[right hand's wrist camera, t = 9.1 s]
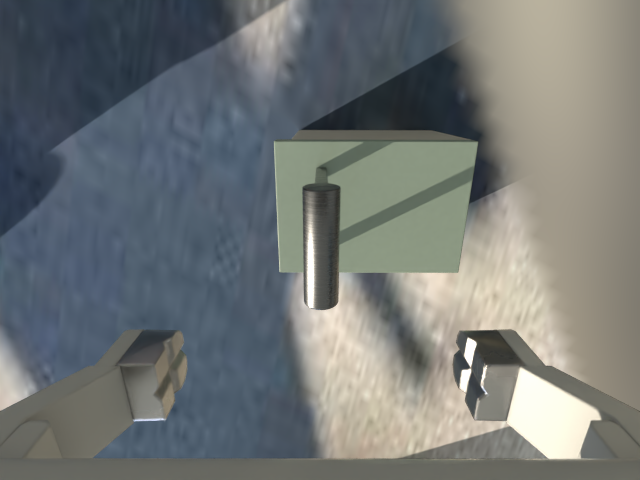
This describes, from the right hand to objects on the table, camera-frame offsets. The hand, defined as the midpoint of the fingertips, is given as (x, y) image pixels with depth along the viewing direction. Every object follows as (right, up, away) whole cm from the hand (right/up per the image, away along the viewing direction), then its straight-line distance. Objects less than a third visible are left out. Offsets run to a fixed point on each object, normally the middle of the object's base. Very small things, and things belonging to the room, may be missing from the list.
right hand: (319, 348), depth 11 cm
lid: (+3, +6, +14) cm, 16 cm away
